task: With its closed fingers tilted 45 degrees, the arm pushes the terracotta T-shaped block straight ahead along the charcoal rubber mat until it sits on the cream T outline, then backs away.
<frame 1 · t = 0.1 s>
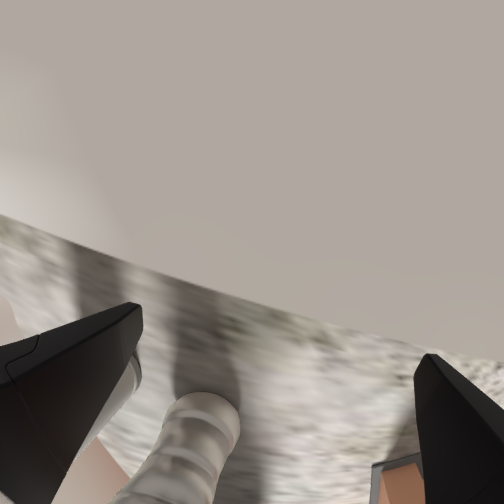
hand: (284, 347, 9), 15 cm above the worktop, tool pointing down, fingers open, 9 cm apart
plastic bottle: (209, 410, 27), on the worktop
travel mug: (113, 365, 28), on the worktop
t block: (432, 484, 25), resting on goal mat
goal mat: (457, 472, 25), on the worktop
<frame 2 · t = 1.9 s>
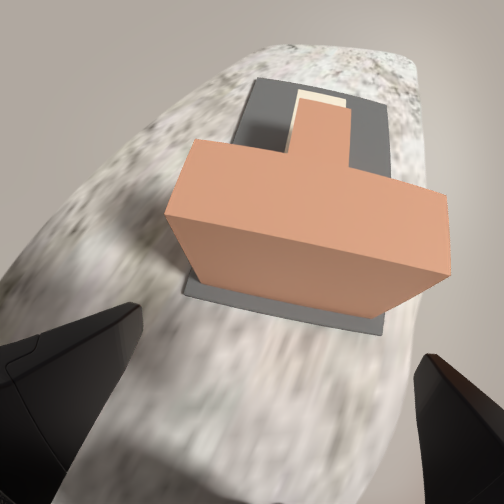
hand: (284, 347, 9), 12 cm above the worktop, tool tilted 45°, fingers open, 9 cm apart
t block: (304, 212, 23), resting on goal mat
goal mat: (310, 176, 25), on the worktop
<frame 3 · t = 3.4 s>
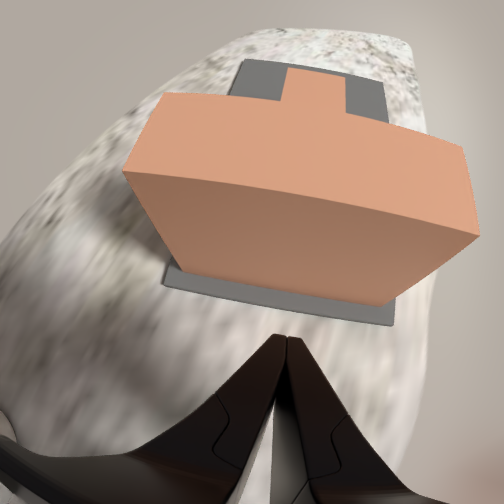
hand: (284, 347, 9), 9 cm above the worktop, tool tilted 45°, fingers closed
plastic bottle: (1, 439, 14), on the worktop
t block: (299, 190, 21), resting on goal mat
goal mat: (304, 153, 23), on the worktop
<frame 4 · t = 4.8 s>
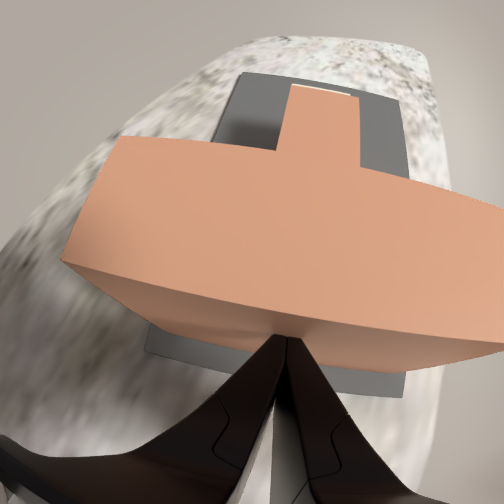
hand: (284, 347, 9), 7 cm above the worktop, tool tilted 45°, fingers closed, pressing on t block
t block: (302, 234, 18), resting on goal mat, touching gripper
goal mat: (308, 190, 20), on the worktop
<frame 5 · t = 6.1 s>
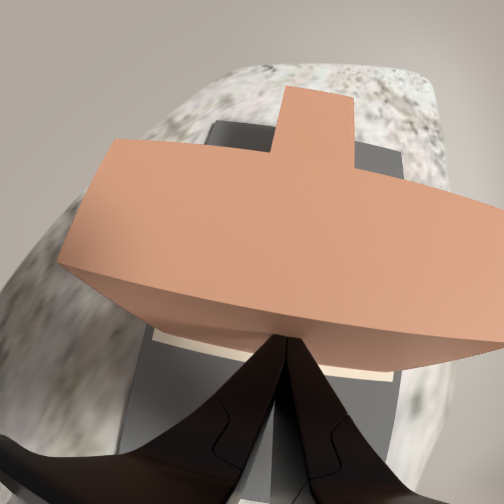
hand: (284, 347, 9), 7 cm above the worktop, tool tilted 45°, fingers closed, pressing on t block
t block: (297, 235, 18), resting on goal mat, touching gripper
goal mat: (286, 290, 17), on the worktop
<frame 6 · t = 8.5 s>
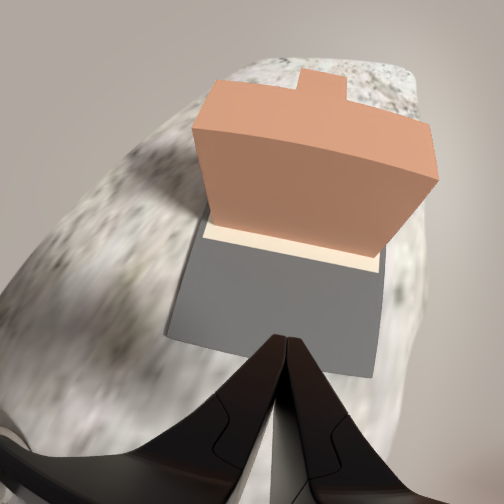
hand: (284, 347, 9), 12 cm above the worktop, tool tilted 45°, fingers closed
plastic bottle: (19, 460, 16), on the worktop
t block: (308, 166, 25), resting on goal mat
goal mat: (300, 207, 24), on the worktop
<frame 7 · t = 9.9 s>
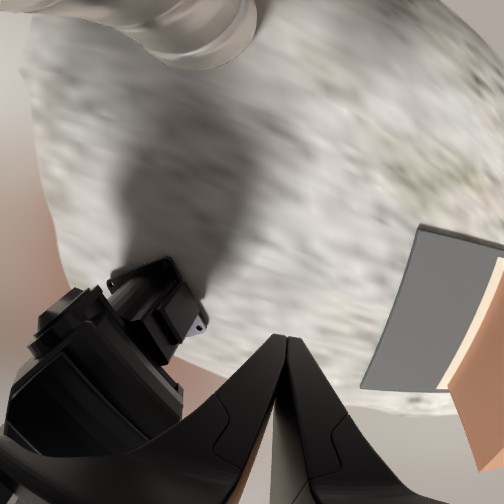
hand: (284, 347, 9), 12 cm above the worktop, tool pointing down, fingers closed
plastic bottle: (210, 32, 16), on the worktop
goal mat: (499, 331, 20), on the worktop
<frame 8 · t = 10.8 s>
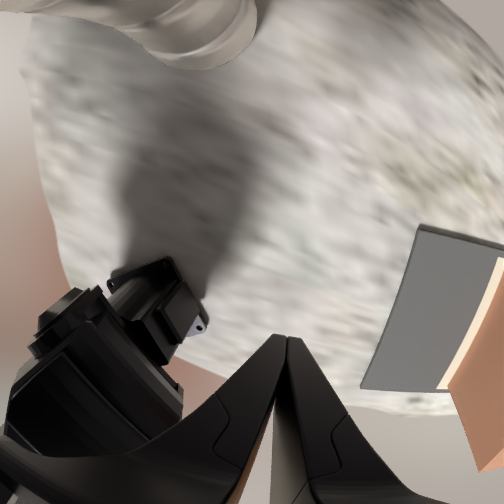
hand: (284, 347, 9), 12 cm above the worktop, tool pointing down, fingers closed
plastic bottle: (210, 32, 16), on the worktop
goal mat: (499, 331, 20), on the worktop
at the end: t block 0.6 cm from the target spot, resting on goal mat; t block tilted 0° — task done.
